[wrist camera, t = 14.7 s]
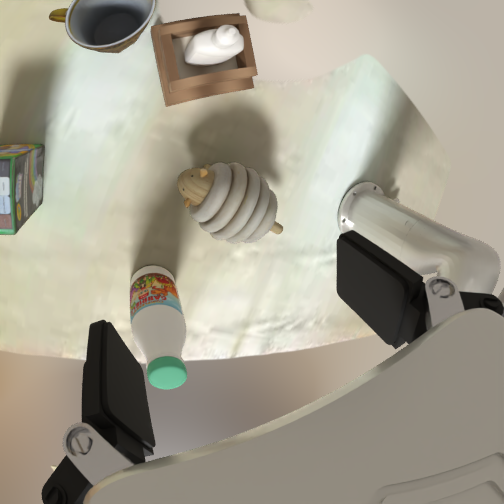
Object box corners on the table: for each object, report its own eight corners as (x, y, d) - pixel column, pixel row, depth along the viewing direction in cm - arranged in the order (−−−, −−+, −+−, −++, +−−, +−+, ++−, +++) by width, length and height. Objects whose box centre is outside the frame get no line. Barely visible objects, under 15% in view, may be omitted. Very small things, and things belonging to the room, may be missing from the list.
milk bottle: (184, 284, 47) (214, 375, 30) (151, 310, 47) (167, 404, 30) (154, 254, 43) (169, 345, 26) (120, 283, 42) (120, 380, 26)
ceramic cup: (160, 7, 25) (167, -23, 17) (141, 67, 29) (140, 50, 21) (76, 4, 20) (60, -23, 12) (55, 64, 24) (30, 51, 16)
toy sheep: (189, 138, 37) (205, 146, 28) (282, 184, 45) (320, 205, 36) (158, 205, 39) (164, 234, 30) (253, 239, 48) (282, 272, 39)
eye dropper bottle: (216, 77, 31) (247, 61, 22) (178, 60, 29) (194, 36, 19) (230, 51, 30) (267, 28, 20) (194, 34, 27) (217, 2, 18)
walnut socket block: (233, 18, 30) (248, 5, 25) (247, 89, 36) (264, 85, 31) (150, 31, 27) (152, 18, 22) (166, 106, 33) (169, 104, 28)
